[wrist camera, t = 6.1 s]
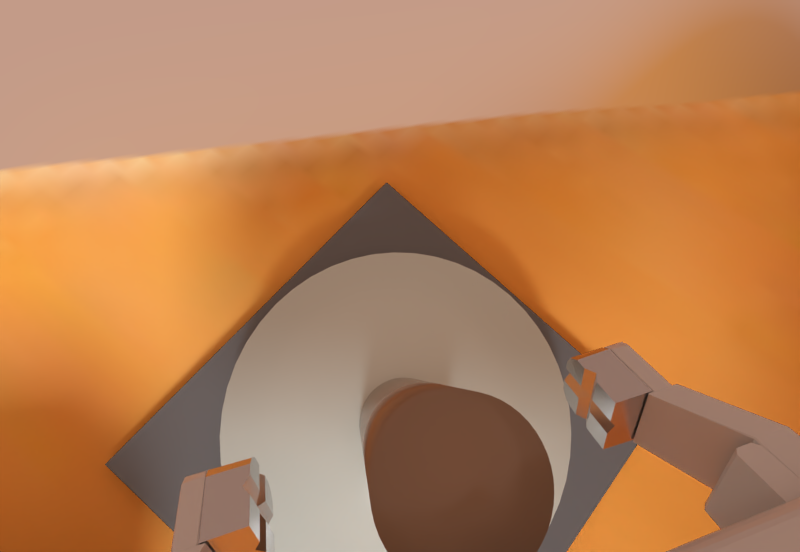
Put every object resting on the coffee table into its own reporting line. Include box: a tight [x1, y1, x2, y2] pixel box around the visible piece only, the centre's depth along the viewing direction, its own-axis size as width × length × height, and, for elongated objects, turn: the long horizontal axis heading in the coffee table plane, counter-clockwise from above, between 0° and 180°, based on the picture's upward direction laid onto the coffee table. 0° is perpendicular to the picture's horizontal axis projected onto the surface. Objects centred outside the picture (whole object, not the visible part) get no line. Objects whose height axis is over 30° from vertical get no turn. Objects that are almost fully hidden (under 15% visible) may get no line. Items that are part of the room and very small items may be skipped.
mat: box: [105, 183, 637, 552], centre depth 16 cm, size 14×14×1 cm
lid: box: [220, 252, 571, 552], centre depth 11 cm, size 12×12×9 cm
